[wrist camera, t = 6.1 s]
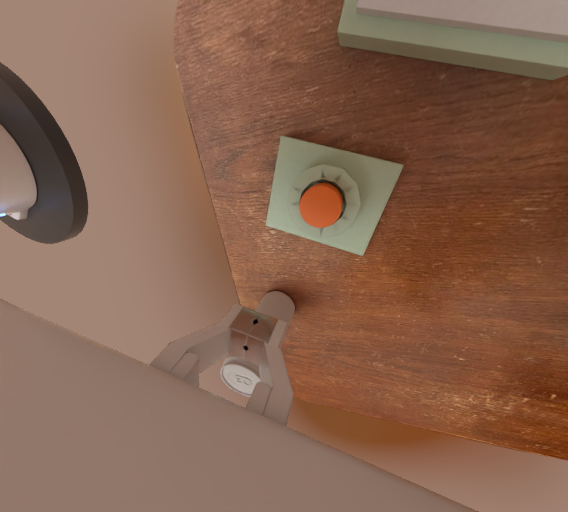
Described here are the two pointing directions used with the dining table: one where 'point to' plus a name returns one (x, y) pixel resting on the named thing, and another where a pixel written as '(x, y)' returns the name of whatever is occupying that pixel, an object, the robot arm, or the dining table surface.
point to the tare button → (321, 205)
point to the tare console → (340, 173)
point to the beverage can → (243, 372)
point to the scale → (464, 32)
